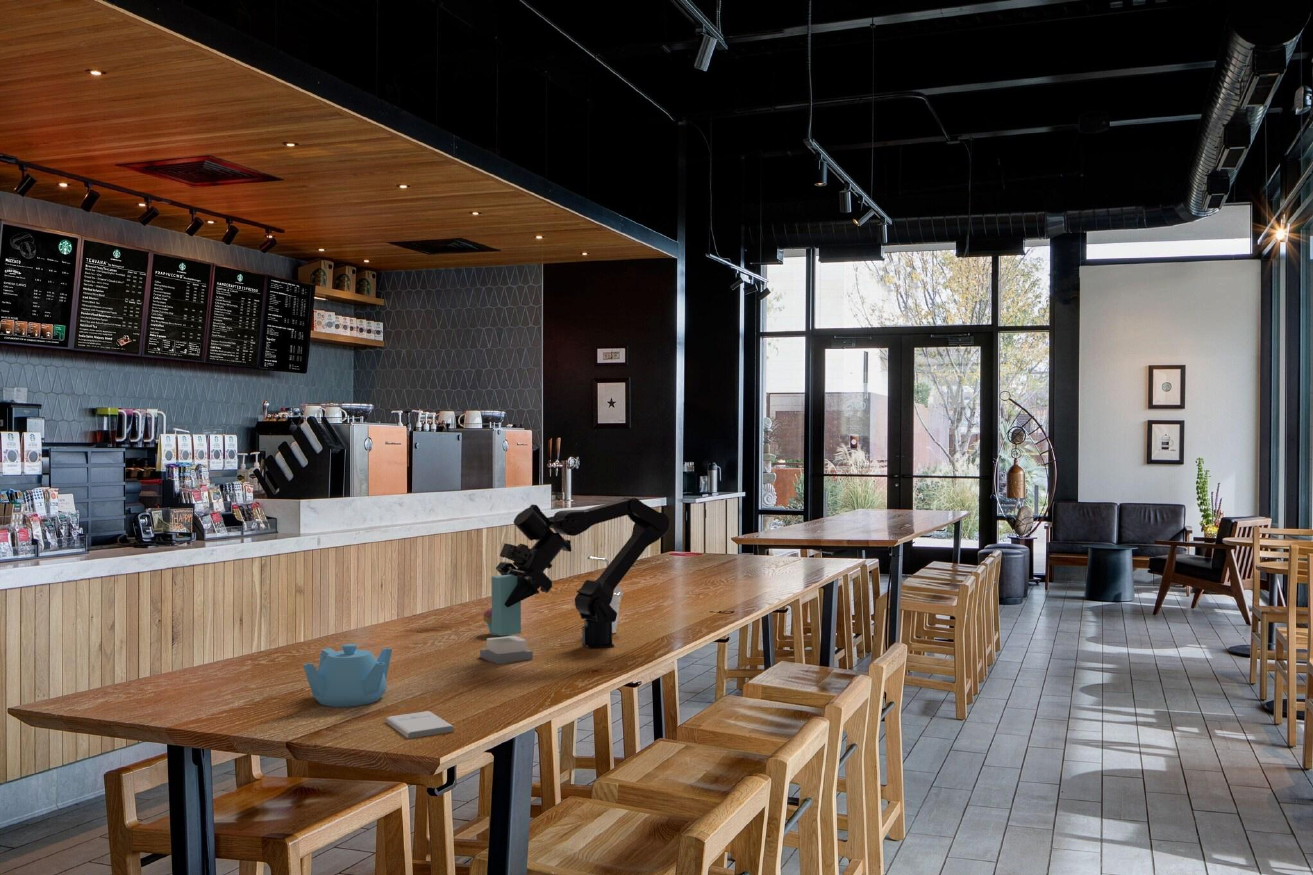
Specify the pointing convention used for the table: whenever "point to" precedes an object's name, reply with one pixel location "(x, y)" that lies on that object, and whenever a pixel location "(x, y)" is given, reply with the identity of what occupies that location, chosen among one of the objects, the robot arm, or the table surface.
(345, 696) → the teapot
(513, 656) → the tower base slab
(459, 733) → the table surface
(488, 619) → the cupcake
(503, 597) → the teal pillar
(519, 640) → the tower top slab
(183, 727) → the table surface
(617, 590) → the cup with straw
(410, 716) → the external hard drive
